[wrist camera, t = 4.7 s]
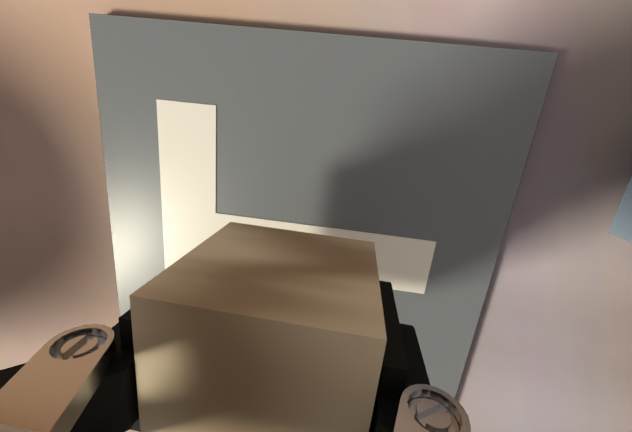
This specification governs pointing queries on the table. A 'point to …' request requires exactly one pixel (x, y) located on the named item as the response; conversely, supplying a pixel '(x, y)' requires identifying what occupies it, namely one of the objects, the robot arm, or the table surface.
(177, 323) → the wood block
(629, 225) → the blue cube
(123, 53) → the letter board
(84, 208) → the table surface
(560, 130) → the table surface
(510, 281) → the table surface
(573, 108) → the table surface
